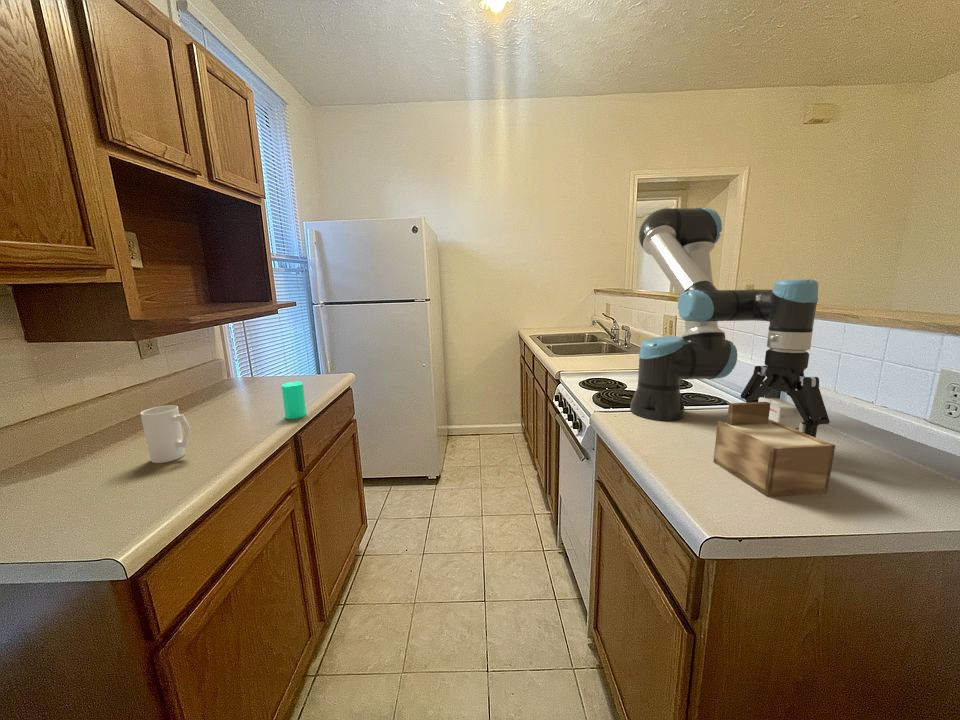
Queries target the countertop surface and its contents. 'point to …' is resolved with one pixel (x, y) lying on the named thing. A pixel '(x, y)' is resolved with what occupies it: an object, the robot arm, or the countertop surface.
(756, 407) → the lid
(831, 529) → the countertop surface
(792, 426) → the ink box
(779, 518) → the countertop surface
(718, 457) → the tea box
